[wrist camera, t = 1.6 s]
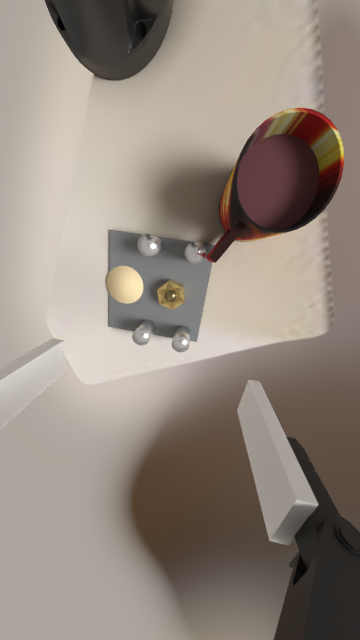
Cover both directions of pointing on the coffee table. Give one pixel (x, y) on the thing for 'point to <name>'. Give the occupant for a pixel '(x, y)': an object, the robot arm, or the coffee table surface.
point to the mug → (281, 178)
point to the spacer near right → (195, 252)
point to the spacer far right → (181, 339)
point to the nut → (171, 294)
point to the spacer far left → (144, 332)
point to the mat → (154, 285)
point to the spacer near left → (150, 245)
